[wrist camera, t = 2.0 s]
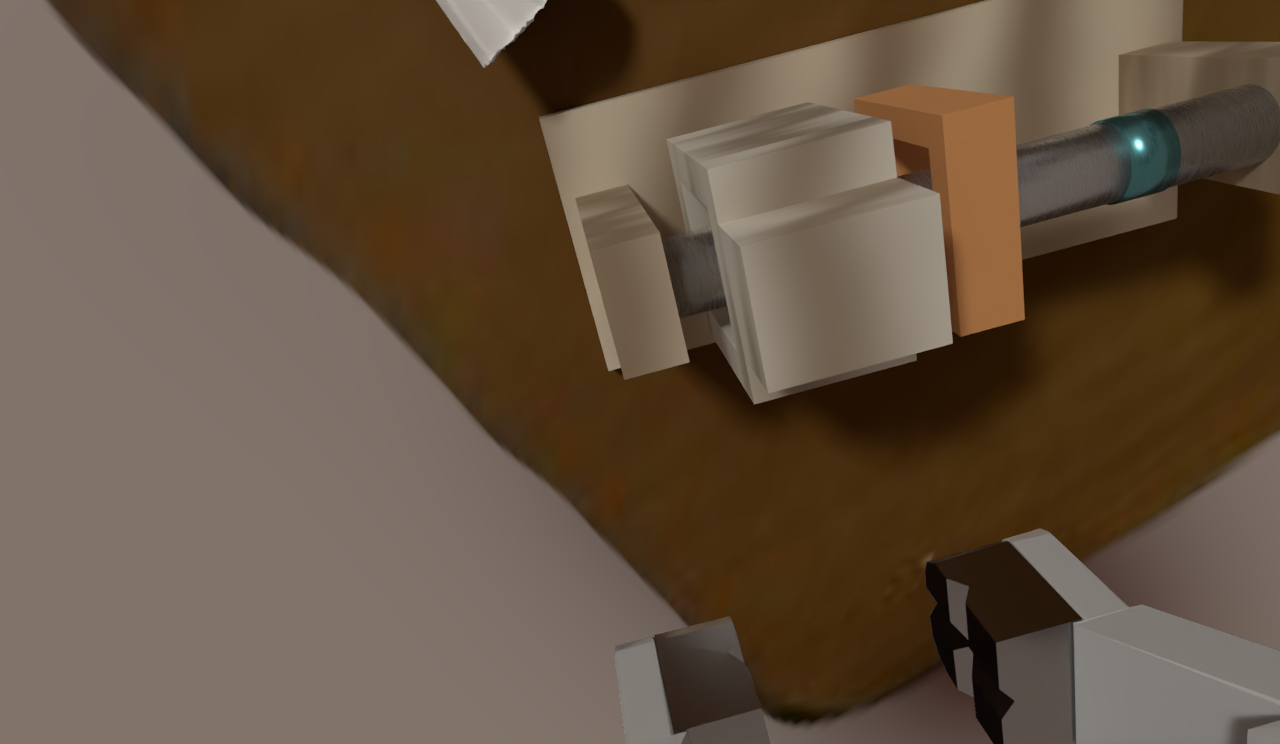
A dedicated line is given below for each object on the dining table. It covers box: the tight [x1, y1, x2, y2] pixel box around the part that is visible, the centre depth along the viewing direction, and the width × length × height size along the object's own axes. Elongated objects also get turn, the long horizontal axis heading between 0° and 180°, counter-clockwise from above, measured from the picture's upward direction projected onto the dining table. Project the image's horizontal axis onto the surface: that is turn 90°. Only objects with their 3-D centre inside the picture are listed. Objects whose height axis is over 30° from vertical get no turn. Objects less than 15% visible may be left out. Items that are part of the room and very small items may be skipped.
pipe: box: [661, 84, 1280, 318], centre depth 25 cm, size 19×3×3 cm, turn 103°
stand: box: [539, 0, 1280, 380], centre depth 28 cm, size 24×10×9 cm, turn 103°
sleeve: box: [666, 102, 953, 404], centre depth 25 cm, size 5×7×10 cm
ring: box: [854, 84, 1025, 337], centre depth 26 cm, size 2×6×6 cm, turn 13°
